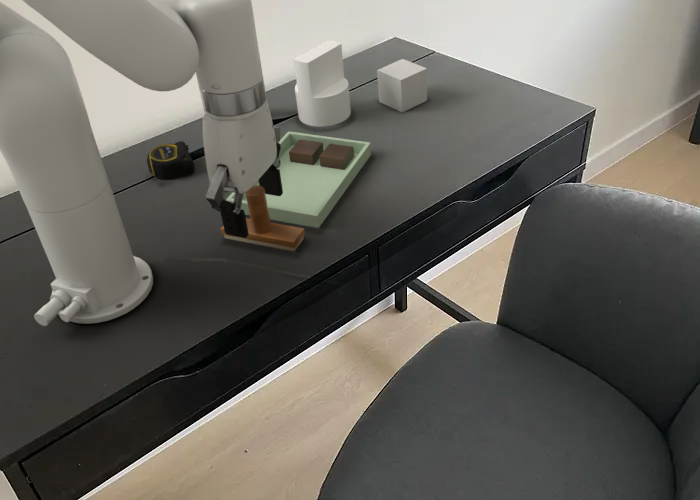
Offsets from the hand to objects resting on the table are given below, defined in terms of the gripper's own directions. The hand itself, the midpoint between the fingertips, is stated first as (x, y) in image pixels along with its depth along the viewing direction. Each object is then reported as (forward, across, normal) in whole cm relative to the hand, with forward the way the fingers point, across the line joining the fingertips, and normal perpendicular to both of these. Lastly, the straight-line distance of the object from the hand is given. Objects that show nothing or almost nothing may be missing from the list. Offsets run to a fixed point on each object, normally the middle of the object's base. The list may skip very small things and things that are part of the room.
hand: (255, 213), depth 98 cm
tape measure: (+5, -13, -22) cm, 26 cm away
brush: (+5, 0, 0) cm, 5 cm away
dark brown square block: (+4, -21, -3) cm, 22 cm away
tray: (+5, -15, 0) cm, 15 cm away
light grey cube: (+5, -44, +5) cm, 45 cm away
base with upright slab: (+5, -35, -6) cm, 36 cm away
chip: (+4, -21, +2) cm, 22 cm away
